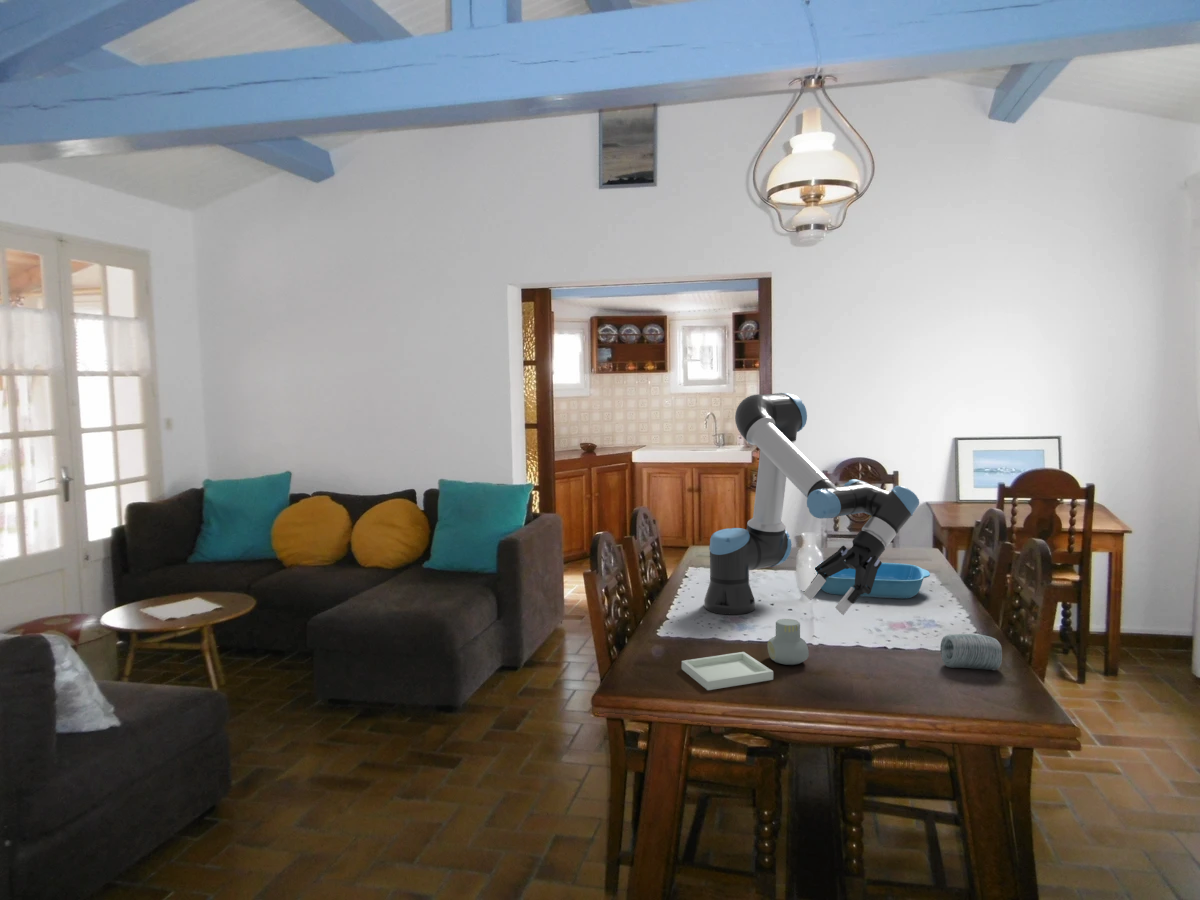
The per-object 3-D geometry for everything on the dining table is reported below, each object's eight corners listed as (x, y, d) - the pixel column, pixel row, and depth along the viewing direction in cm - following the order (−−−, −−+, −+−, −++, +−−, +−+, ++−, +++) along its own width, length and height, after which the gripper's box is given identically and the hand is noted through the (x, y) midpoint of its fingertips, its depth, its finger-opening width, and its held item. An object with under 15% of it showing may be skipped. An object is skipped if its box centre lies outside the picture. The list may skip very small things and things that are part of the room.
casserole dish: (807, 596, 260) (807, 574, 260) (810, 578, 282) (810, 557, 281) (932, 604, 250) (933, 581, 249) (926, 585, 271) (926, 563, 270)
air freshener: (765, 654, 209) (765, 615, 208) (797, 652, 210) (797, 614, 209) (777, 670, 199) (777, 629, 198) (811, 668, 199) (811, 628, 198)
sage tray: (681, 670, 200) (681, 660, 200) (743, 661, 206) (743, 651, 206) (707, 692, 187) (707, 681, 187) (773, 681, 193) (773, 671, 193)
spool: (938, 660, 194) (949, 619, 197) (933, 664, 203) (943, 626, 205) (1000, 680, 190) (1010, 639, 192) (992, 684, 198) (1001, 644, 201)
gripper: (915, 558, 198) (863, 627, 195) (851, 538, 222) (803, 599, 218) (898, 539, 196) (844, 608, 193) (834, 521, 219) (786, 582, 216)
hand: (822, 603), depth 205 cm, fingers open, 13 cm apart
